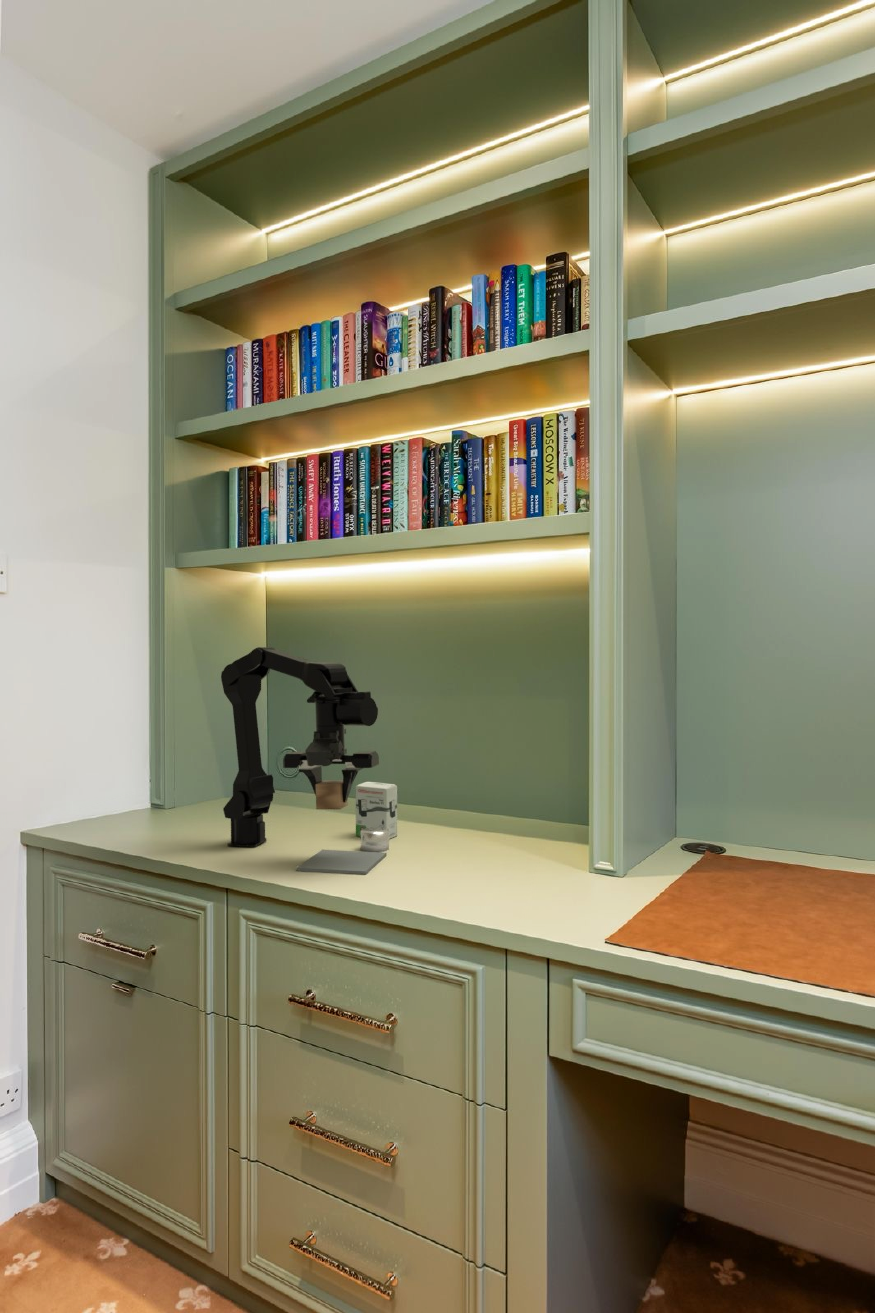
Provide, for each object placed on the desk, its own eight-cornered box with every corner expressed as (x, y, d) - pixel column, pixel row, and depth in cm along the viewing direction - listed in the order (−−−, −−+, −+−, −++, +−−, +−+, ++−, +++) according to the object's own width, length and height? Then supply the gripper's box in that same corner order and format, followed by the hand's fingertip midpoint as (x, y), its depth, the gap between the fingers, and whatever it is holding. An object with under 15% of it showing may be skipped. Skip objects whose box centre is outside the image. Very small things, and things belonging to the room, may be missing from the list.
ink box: (354, 836, 181) (354, 784, 181) (366, 832, 186) (365, 781, 186) (387, 840, 177) (386, 787, 177) (398, 836, 182) (398, 783, 181)
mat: (296, 870, 154) (296, 867, 154) (322, 852, 167) (322, 849, 167) (365, 874, 151) (365, 871, 151) (386, 855, 164) (386, 852, 164)
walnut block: (316, 809, 160) (315, 784, 160) (324, 804, 165) (324, 780, 165) (340, 809, 159) (339, 784, 159) (348, 804, 164) (347, 780, 164)
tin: (357, 852, 168) (356, 833, 168) (365, 845, 174) (365, 826, 174) (384, 853, 166) (384, 834, 166) (392, 846, 172) (392, 828, 172)
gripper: (270, 729, 156) (272, 809, 156) (362, 728, 152) (364, 810, 152) (292, 724, 167) (294, 799, 167) (378, 723, 163) (380, 799, 163)
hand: (332, 802), depth 162 cm, fingers closed on walnut block, 5 cm apart
